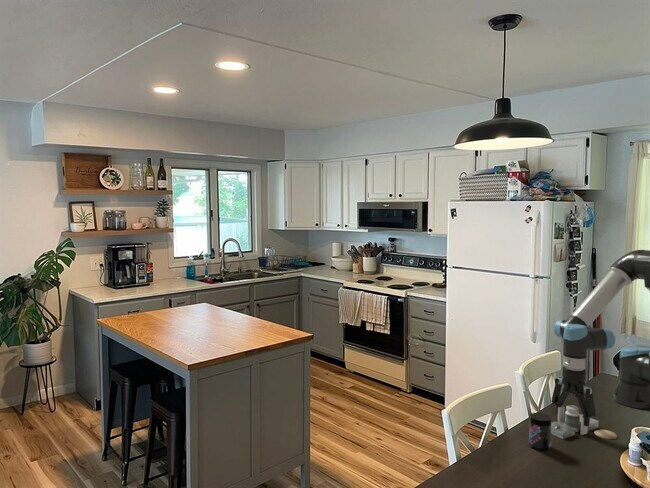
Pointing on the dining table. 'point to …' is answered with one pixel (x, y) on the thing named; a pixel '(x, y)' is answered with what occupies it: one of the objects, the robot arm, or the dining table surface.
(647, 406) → the robot arm
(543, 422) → the supplement container
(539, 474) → the dining table surface
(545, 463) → the dining table surface
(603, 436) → the cork coaster
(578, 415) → the pill bottle
